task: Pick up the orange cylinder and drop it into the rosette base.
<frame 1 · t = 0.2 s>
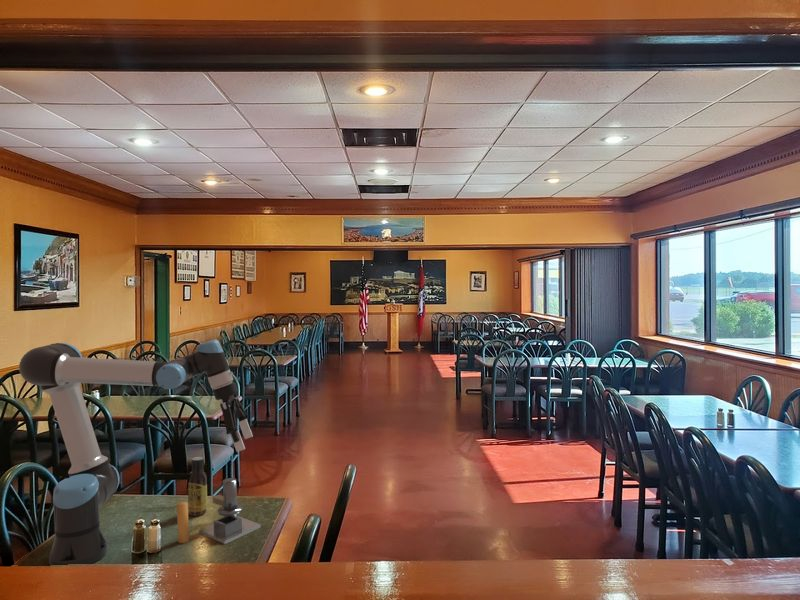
hand: (245, 443, 184), 27 cm above the table, tool tilted 20°, fingers open, 13 cm apart
sauce bottle: (198, 513, 195), on the table
orange cylinder: (183, 540, 174), on the table
rosette base: (229, 530, 181), on the table
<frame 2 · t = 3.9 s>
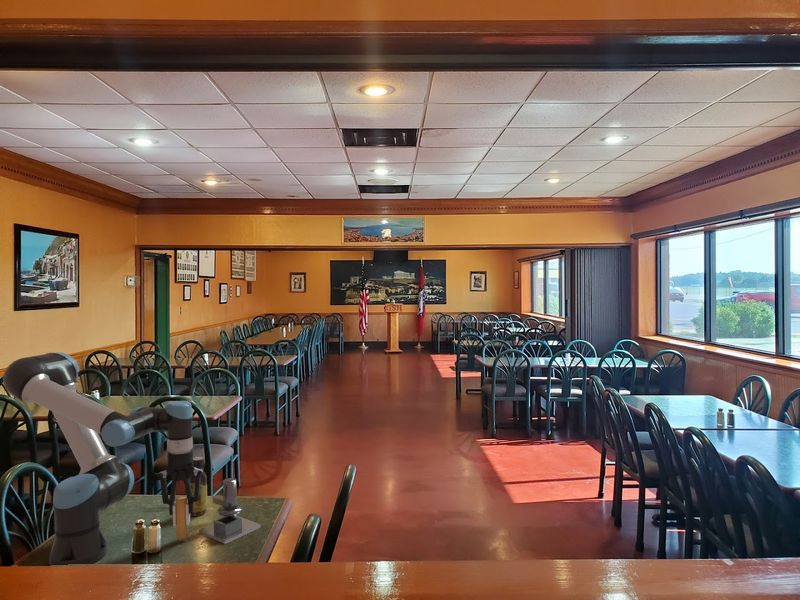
hand: (181, 523, 174), 6 cm above the table, tool pointing down, fingers closed on orange cylinder, 3 cm apart
orange cylinder: (182, 536, 174), point 1 cm above the table, touching gripper
everything else where it was.
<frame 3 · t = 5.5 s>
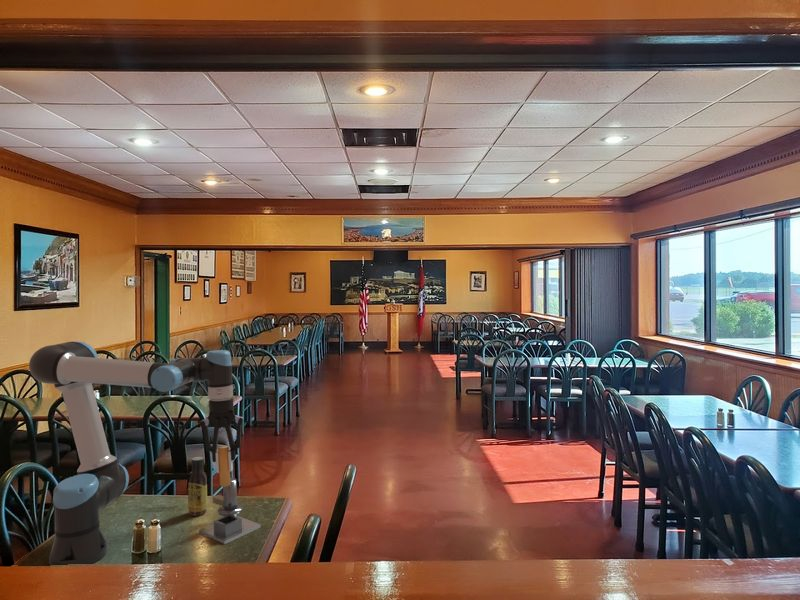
hand: (224, 470, 176), 21 cm above the table, tool pointing down, fingers closed on orange cylinder, 3 cm apart
orange cylinder: (225, 484, 176), point 17 cm above the table, touching gripper
everything else where it was.
when the fingers open (7 cm above the table, at t = 7.7 s): orange cylinder drops 2 cm, resting on rosette base.
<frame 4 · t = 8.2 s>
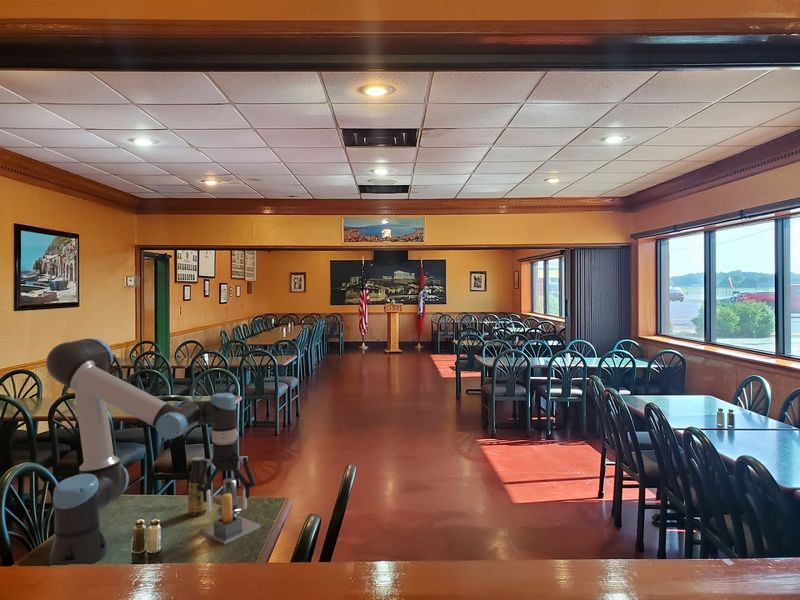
hand: (227, 509, 177), 8 cm above the table, tool pointing down, fingers open, 10 cm apart
orange cylinder: (227, 531, 177), point 1 cm above the table, touching rosette base
everything else where it was.
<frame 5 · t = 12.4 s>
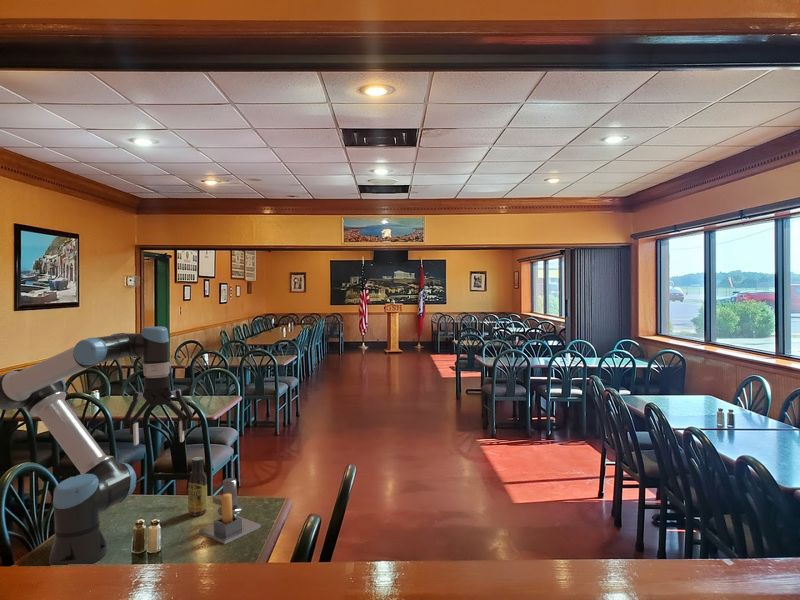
hand: (159, 442, 173), 32 cm above the table, tool pointing down, fingers open, 13 cm apart
nothing on the table moved.
at the end: orange cylinder 0.1 cm from the target spot on the rosette base, point 1.0 cm above the rosette base's base; orange cylinder tilted 0°; the gripper is holding nothing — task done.
